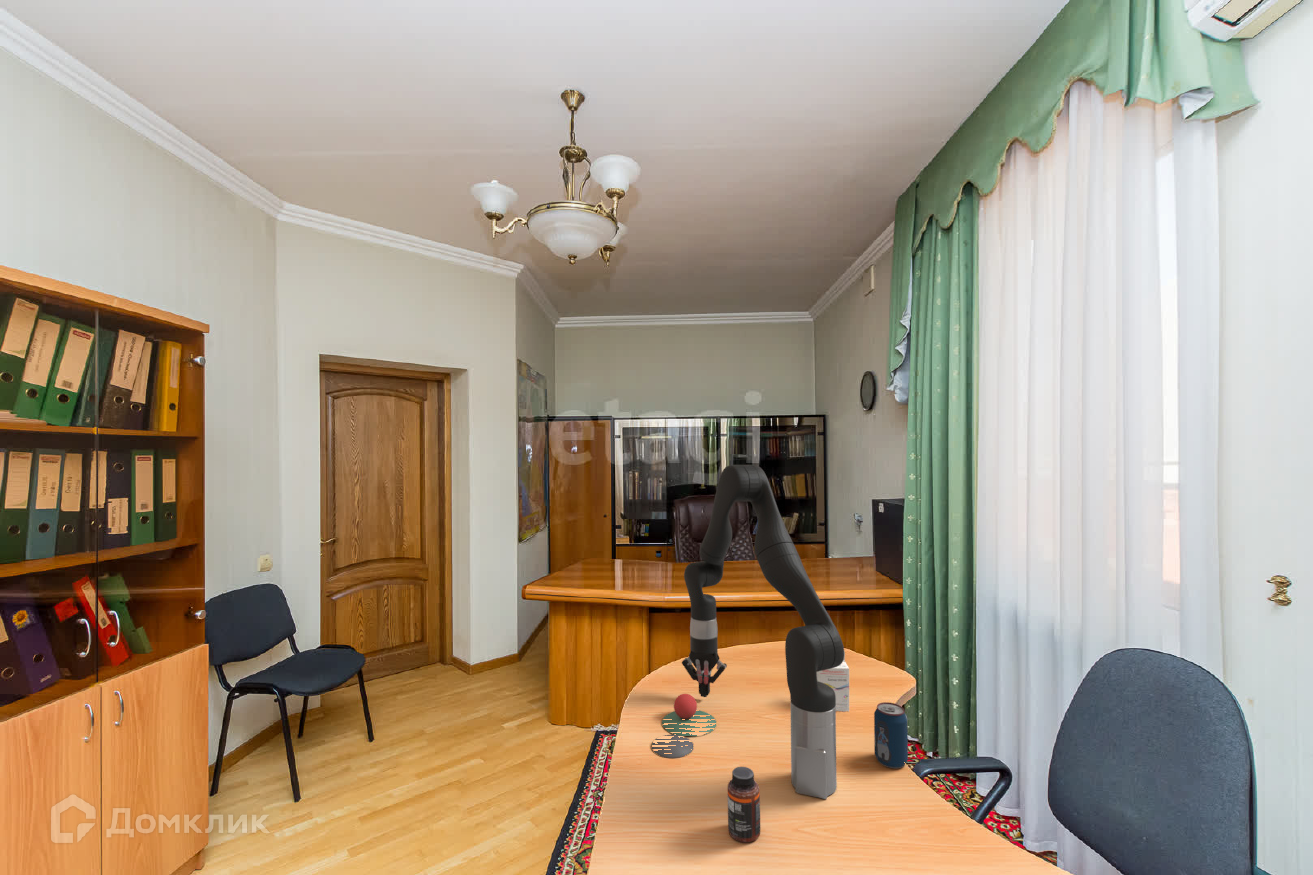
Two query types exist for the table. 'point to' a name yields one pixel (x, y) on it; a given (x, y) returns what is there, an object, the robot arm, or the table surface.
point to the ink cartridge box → (837, 684)
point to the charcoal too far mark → (674, 747)
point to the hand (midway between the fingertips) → (704, 695)
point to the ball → (685, 706)
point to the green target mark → (679, 720)
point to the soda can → (890, 735)
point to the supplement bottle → (743, 805)
